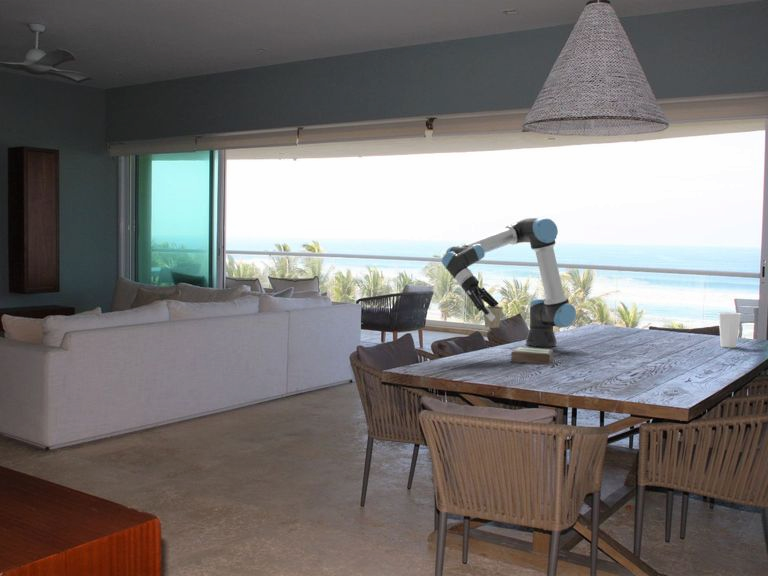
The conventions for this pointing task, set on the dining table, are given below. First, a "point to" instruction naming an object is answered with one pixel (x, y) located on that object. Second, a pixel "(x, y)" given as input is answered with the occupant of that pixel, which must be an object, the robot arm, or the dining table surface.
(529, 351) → the brown flat square box
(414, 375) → the dining table surface
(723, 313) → the cup
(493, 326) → the flower pot
